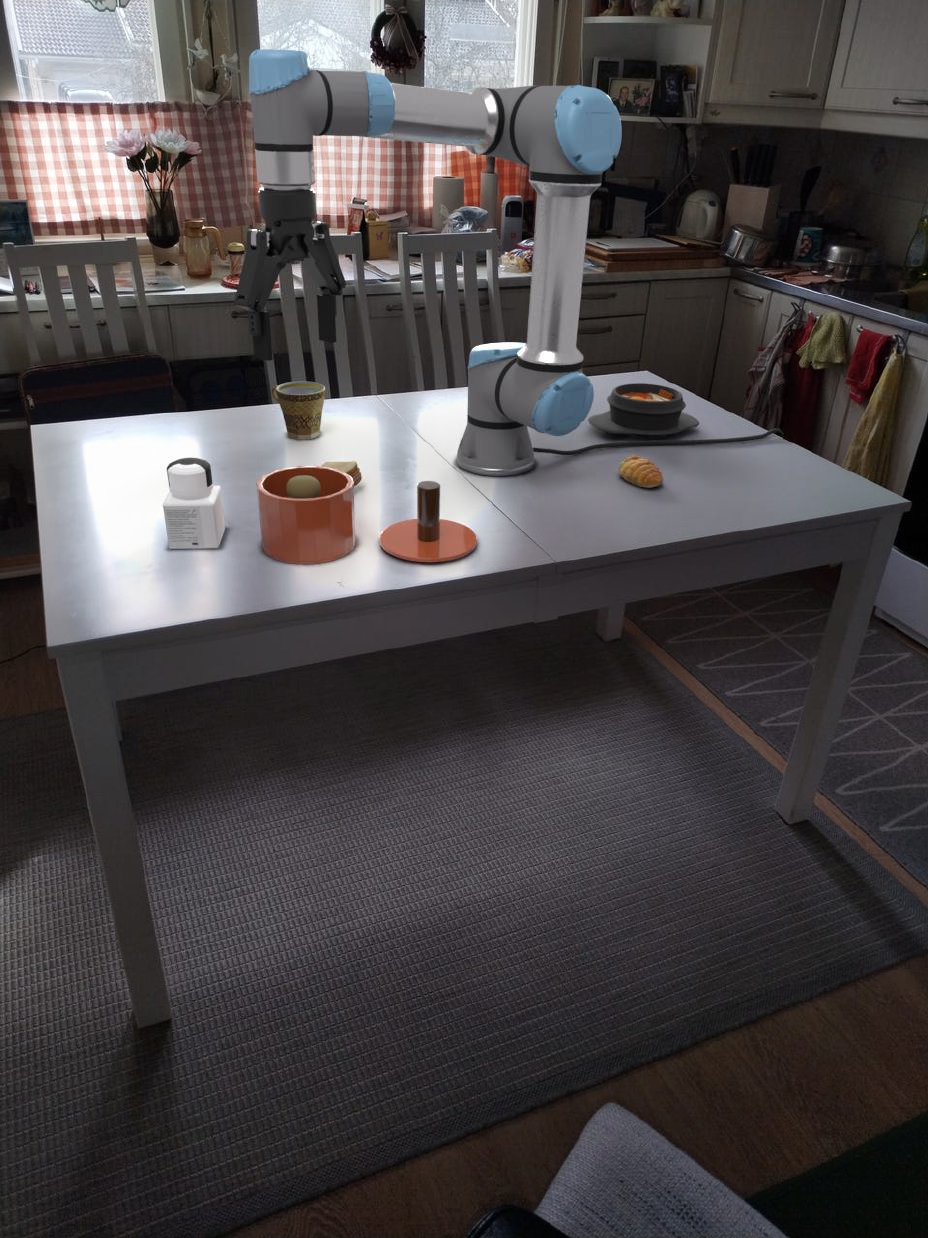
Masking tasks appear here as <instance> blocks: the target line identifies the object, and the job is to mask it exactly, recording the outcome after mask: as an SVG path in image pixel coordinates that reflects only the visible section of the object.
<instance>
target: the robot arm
mask: <svg viewBox="0 0 928 1238" xmlns="http://www.w3.org/2000/svg"><path fill="white" fill-rule="evenodd" d="M248 58H249V59H248V66H249V67H248V86H249V87H248V94H249V96H250V97H249V98H250V107H251V116H252V117H251V119H252V127H253V138H254V140H253V141H254V149H255V150H254V153H255V154H254V155H255V167H256V180H257V183H258V184H260V185H262V187H260V188H259V190H258V191H257V194H258V195H257V198H258V208H259V209H258V211H259V216H260V218H261V219H263V221H264V230H258V229H248V230H247V232H246V250H245V255H244V258H243V263H242V266H241V267H242V268H241V271H240V275H239V279H238V283H237V288H236V292H235V297H234V305H235V306H236V307H238V308H241V309H243V310H246V311H247V317H248V319H247V320H248V329H249V333H250V336H252V346H253V356H254V359H258V360H263V361H268V362H271V361H273V359H274V357H273V345H272V331H271V318H270V310H266V309H265V308H266V305H267V303H268V301H269V298H270V295H271V294H272V291H273V289H274V287H275V285H276V282H277V280H278V278H279V276H280V273H281V271H282V269H284V268H286V266H287V265H288V264H293V263H295V262H301V264H302V266H303V267H304V268H305V270H306V271H307V272H308V274H309V276H310V277H311V279H312V280H313V282H314V283H315V285H316V286H317V288H318V289H319V291H320V293H318V294H316V306H317V308H316V309H317V327H318V340H319V341H322V342H327V343H332V344H334V343H337V326H336V324H337V323H336V317H337V314H338V310H337V309H338V308H337V307H338V306H337V296H342V295H343V289H346V286H347V282H346V279H345V276H344V274H343V270H342V268H341V265H340V262H339V258H338V257H337V253H336V252H335V248H334V245H333V243H332V240H331V234H330V233H331V232H330V226H329V223H328V222H322V221H313V220H315V219H316V218H317V194H316V191H315V190H314V188H312V186H313V185H314V184H315V183H316V171H315V170H316V168H315V156H314V155H315V153H314V137H322V136H329V137H330V136H332V137H360V138H371V139H383V140H391V141H403V142H413V143H422V144H423V143H424V144H433V145H445V146H457V147H465V148H466V149H467V151H468V152H469V153H470V154H472V155H477V156H486V157H487V156H488V157H491V158H495V159H500V160H504V161H506V162H507V161H508V162H512V163H516V164H519V165H521V166H527V167H529V170H528V183H529V184H530V185H531V187H532V188H533V189H534V191H535V192H536V206H535V207H536V208H535V218H534V219H535V220H534V221H535V222H534V233H533V234H534V235H533V249H532V263H531V276H530V277H531V278H530V293H529V307H528V319H527V335H526V342H515V341H514V342H513V341H512V342H511V341H510V342H509V341H504V342H492V343H485V344H484V343H483V344H480V345H476V346H474V347H473V348H472V349H471V351H470V352H469V357H468V365H467V415H466V416H467V417H466V426H465V429H464V430H463V431H464V432H463V434H462V437H461V439H460V441H459V444H458V448H457V453H456V463H457V465H458V466H459V468H461V469H463V470H465V471H468V472H470V473H474V474H476V475H483V476H489V477H491V476H493V477H495V476H496V477H507V476H508V477H509V476H515V475H519V474H524V473H526V472H529V471H530V470H531V469H533V467H534V465H535V453H542V454H552V455H559V456H573V455H578V454H582V453H585V452H588V451H592V450H598V449H605V448H615V447H627V446H655V445H705V444H709V445H710V444H726V443H739V442H747V441H756V440H761V439H764V438H768V437H769V436H771V435H773V434H776V433H777V434H778V435H779V436H784V435H785V434H784V432H783V431H782V430H781V429H780V428H778V427H777V428H771V429H769V430H768V431H766V432H764V433H761V434H756V435H749V436H739V437H728V438H709V439H657V440H656V439H655V440H653V439H651V440H627V441H613V442H605V443H597V444H590V445H588V446H587V445H586V446H584V447H581V448H576V449H572V450H571V449H570V450H560V449H554V448H542V447H533V443H532V440H531V435H530V433H529V429H528V428H530V429H532V430H534V431H536V432H537V433H540V434H546V435H549V436H552V437H563V436H566V435H568V434H571V433H572V432H573V431H575V430H576V429H578V428H579V427H580V424H581V423H582V422H584V421H585V420H586V418H587V417H588V414H589V413H590V411H591V409H592V405H593V402H594V397H595V395H594V394H595V391H594V390H595V389H594V385H593V383H592V382H591V379H590V378H589V377H588V376H587V375H586V374H585V373H583V370H584V369H583V367H584V355H583V353H581V351H580V350H579V349H578V347H577V341H578V330H579V320H580V319H579V318H580V311H581V310H580V308H581V300H582V289H583V288H582V287H583V279H584V278H583V277H584V269H585V267H584V265H585V257H586V256H585V255H586V245H587V235H588V224H589V215H590V205H591V197H592V195H593V193H594V192H596V191H597V190H598V189H599V188H600V187H601V186H602V179H603V173H604V172H605V171H606V170H608V169H609V168H610V167H612V165H613V164H614V159H616V158H618V154H619V152H620V148H621V145H622V138H623V137H622V136H623V134H622V133H623V131H622V130H623V129H622V121H621V116H620V113H619V110H618V108H617V106H616V105H615V104H614V103H613V101H612V98H611V97H610V96H609V94H607V93H606V92H604V91H603V90H601V89H599V88H596V87H590V86H585V85H581V84H576V85H526V86H515V87H505V88H504V87H501V88H493V87H491V88H489V87H485V86H479V87H475V88H474V89H473V90H472V91H471V92H466V91H457V90H450V89H442V88H441V89H440V88H433V87H427V86H417V85H409V84H404V83H403V84H402V83H395V82H391V81H390V80H389V79H388V78H387V77H386V75H384V74H381V73H378V72H368V71H367V70H361V71H354V70H353V71H352V70H318V69H313V68H312V66H311V64H310V57H309V55H308V54H307V52H305V51H303V50H294V49H271V48H269V49H267V48H265V49H264V48H263V49H262V48H261V49H255V50H254V51H252V52H251V53H250V55H249V57H248Z"/></svg>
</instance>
